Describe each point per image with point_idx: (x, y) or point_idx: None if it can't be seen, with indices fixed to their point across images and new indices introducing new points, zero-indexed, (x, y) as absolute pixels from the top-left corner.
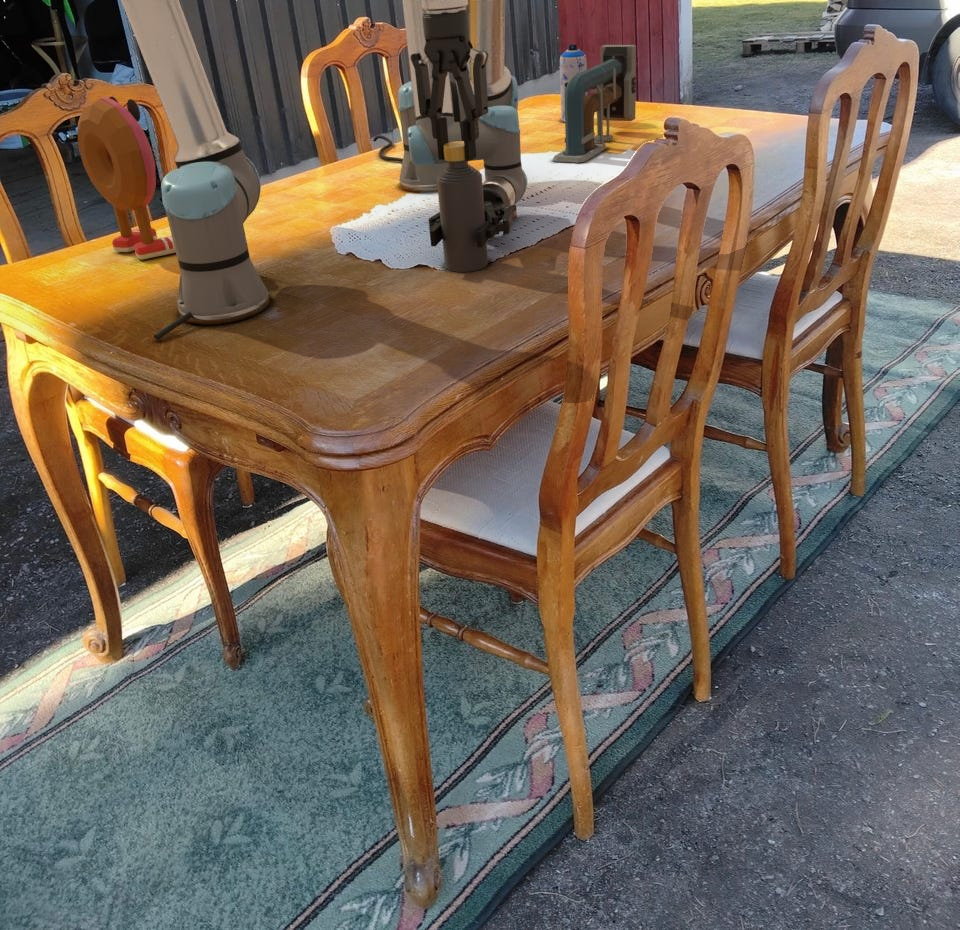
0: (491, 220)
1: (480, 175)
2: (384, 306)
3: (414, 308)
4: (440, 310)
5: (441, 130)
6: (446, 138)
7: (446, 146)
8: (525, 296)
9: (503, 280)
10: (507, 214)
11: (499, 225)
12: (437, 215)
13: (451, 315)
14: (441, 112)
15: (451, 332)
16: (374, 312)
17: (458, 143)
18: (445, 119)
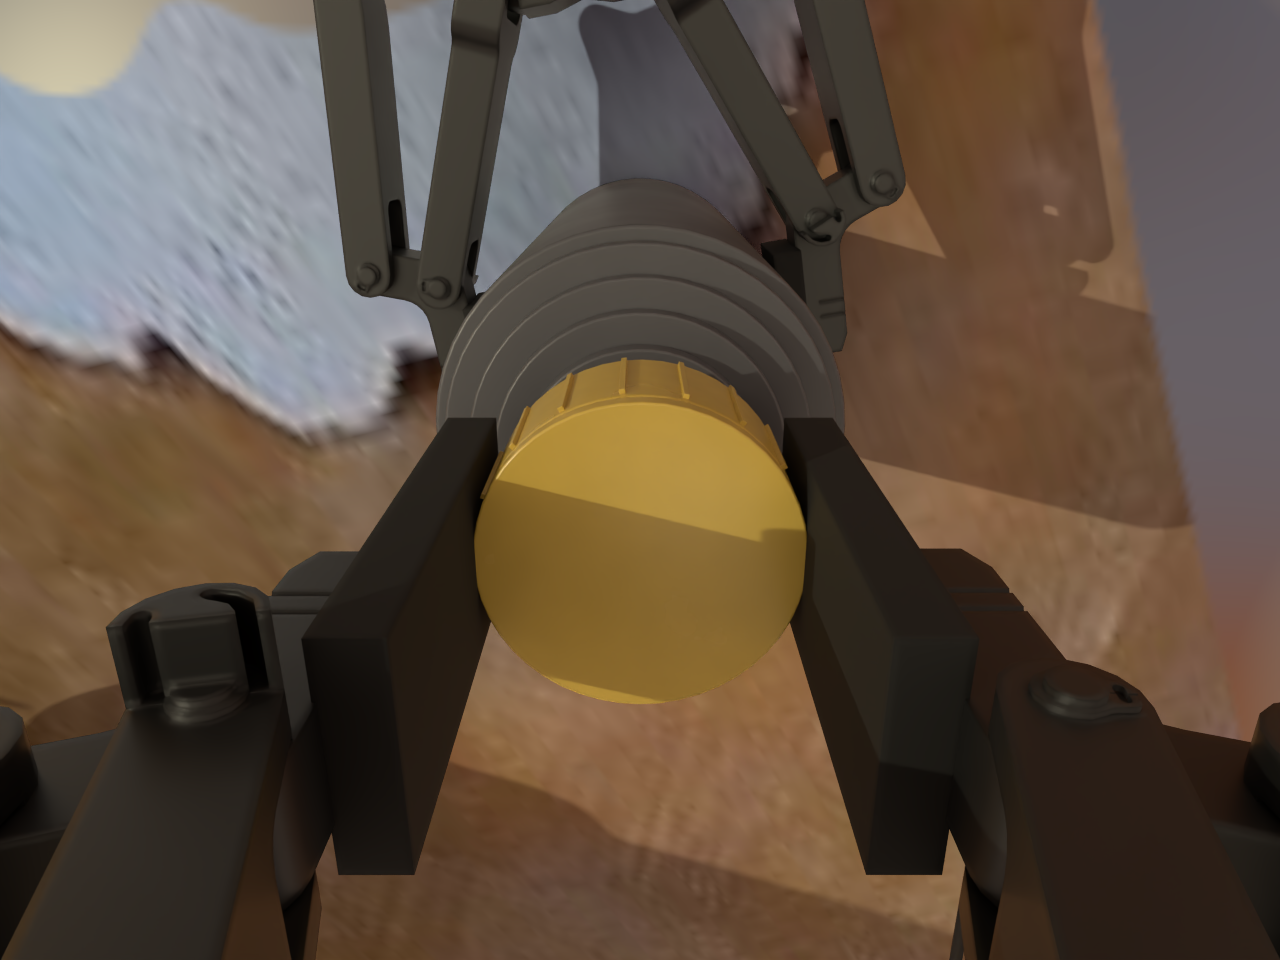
0: (792, 220)
1: (828, 372)
2: (547, 790)
3: (668, 779)
4: (774, 771)
5: (442, 717)
6: (463, 542)
7: (571, 676)
8: (1057, 581)
9: (904, 442)
10: (853, 54)
11: (847, 227)
12: (365, 200)
13: (834, 797)
14: (282, 741)
15: (893, 901)
16: (544, 839)
17: (649, 528)
18: (399, 663)
